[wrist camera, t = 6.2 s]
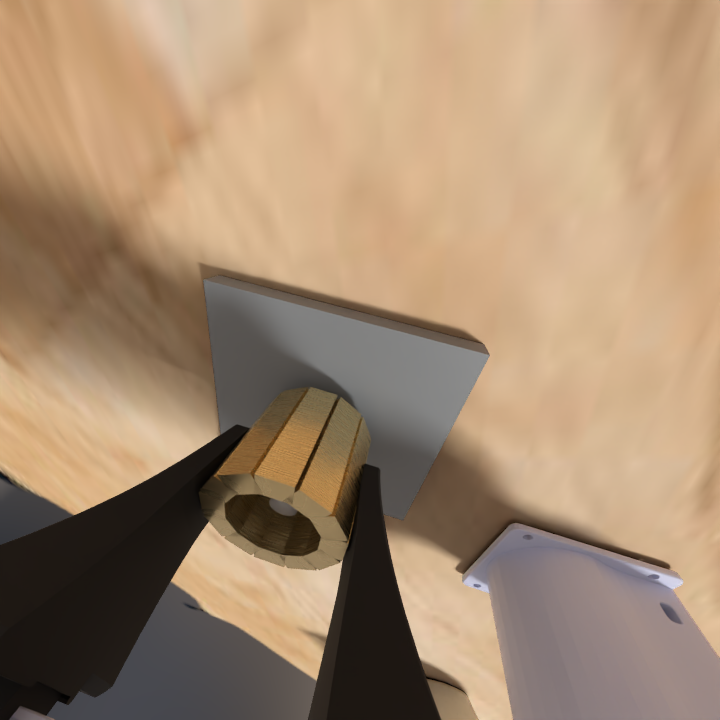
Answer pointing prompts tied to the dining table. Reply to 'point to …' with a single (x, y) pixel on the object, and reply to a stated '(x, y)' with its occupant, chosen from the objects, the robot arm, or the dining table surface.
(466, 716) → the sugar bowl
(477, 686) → the dining table surface
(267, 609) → the dining table surface
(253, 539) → the collar
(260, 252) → the dining table surface
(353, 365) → the stand
